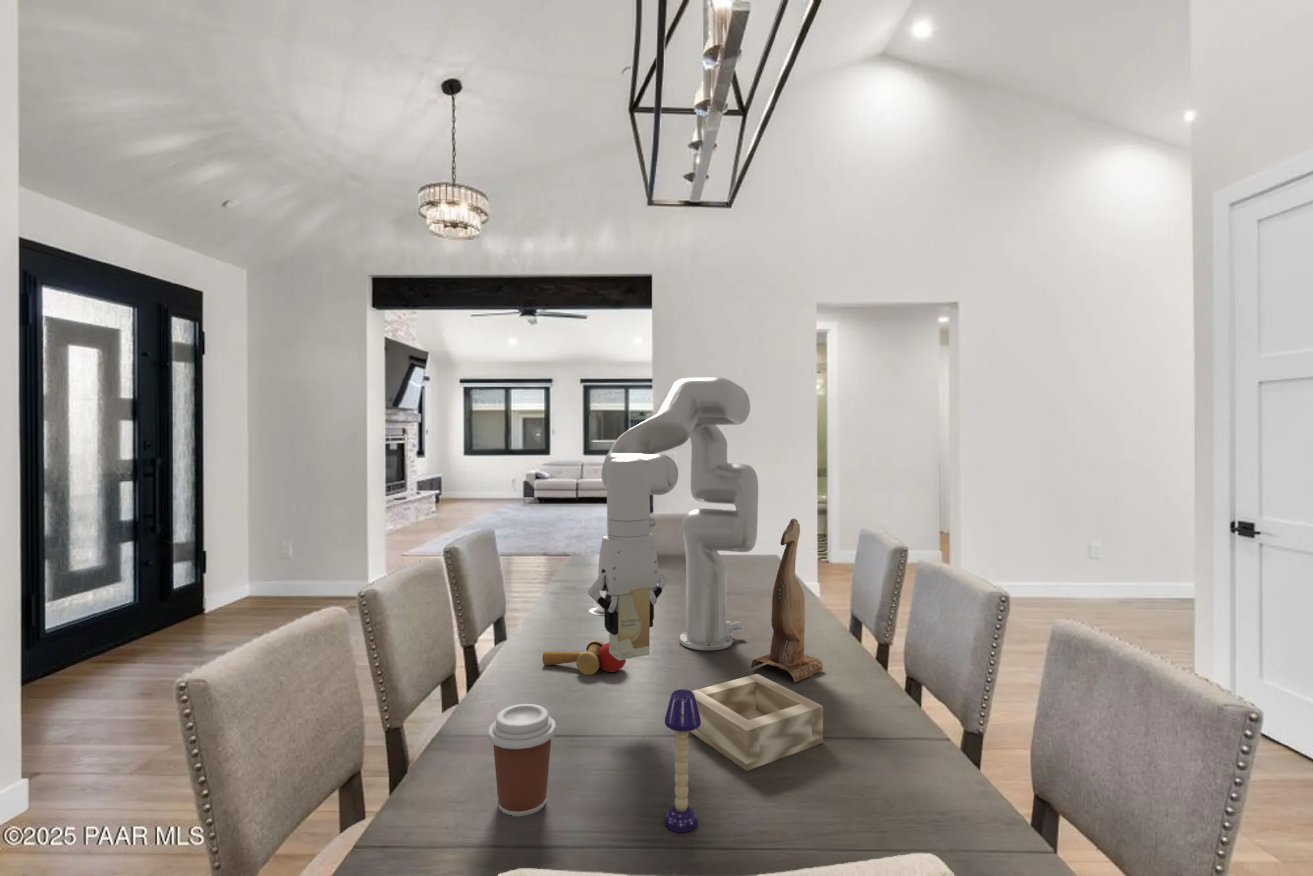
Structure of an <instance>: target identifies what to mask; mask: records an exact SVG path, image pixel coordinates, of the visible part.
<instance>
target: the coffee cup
mask: <svg viewBox="0 0 1313 876" xmlns="http://www.w3.org/2000/svg"><path fill="white" fill-rule="evenodd" d="M487 731H488V732H487V740H488V741H489V742H490V743H491V744H492V745H493V757H494V766H495V778H496V779H495V781H496V790H497V801H498V806H497V807H499V808H498V810H499V811H500V810H501V811H502V812H503V813H502V812H501V811H500V812H501V813H502V814H504V813H506V814H508V815H507V816H509V815H512V816H511V817H517V818H518V817H526V816H530V815H533V814H535V813H538V812H539V811H540V810H542V809H543V808H544V807H545V805H546V803H547V796H548V795H547V792H548V782H549V781H548V779H549V770H550V769H549V768H550V757H551V745H552V739H553V738H554V736H555V734H556V733H557V723H556V720H555V719H553V718H552V717H551V716H550V715H549V710H548V709H546V708H545V707H544V706H541V705H540V704H539V705H538V704H534V703H532V704H531V703H522V704H520V703H518V704H515V705H510V706H508V707H505V708H504V709H501V710H499V713H498V714H496V715H495V720H494V721H493V722H492V723H491V724H490V726H489V727H488V730H487ZM506 814H505V815H506Z"/></svg>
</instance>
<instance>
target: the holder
mask: <svg viewBox="0 0 1313 876" xmlns="http://www.w3.org/2000/svg"><path fill="white" fill-rule="evenodd" d="M691 691H692V692H693V693H694V695H695V698H696V702H697V706H698V711H699V715H700V720H701V724H700V726H699V727H698V728H697V729H695V730H692V731H689V733H691V734H693V735H694V736H696V737H697V738H698V739H699V740H702V741H703V742H705V743H706V744H707V745H708V746H710V747H711V748H713V749H714V750H716V751H717V752H719V753H720V754H722V755H723V756H725V757H726V758H727V759H728V760H730V761H732V763H734V764H736V765H737V766H739V767H740V768H741V769H743V770H745V772H746V771H750V770H753V769H756V768H759V767H761V766H763V765H764V766H765V765H767V764H770V763H772V762H775V761H777V760H780V759H783V758H785V757H789V756H791V755H794V754H797V753H799V752H802V751H805V750H807V749H810V748H813V747H815V746H818V744H819V745H821V744H824V706H823V705H821V704H820V703H818V702H815V701H814V700H811V699H809V698H808V697H806V696H803V695H801V694H799V693H797V692H796V691H793V690H792V689H789V688H787V687H785V686H783V685H781V684H779V683H777V682H775V681H772V680H771V679H769V678H766V677H765V676H762V675H761V674H758V673H755V674H752V675H748V676H744V677H740V678H736V679H732V680H728V681H726V682H722V683H717V684H713V685H710V686H706V687H702V688H699V689H695V690H694V689H693V690H691Z"/></svg>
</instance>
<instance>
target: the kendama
mask: <svg viewBox="0 0 1313 876" xmlns="http://www.w3.org/2000/svg"><path fill="white" fill-rule="evenodd" d="M626 660H627V659H624V660H617V659H616V658H615V657H614V656H612V655H611V654H610V653H609V641H608V642H606V643H604V642H602V641H601V640H598V639H595V640H591V641H590V642H589V643H588V644H587V645H586V651H582V652H578V651H563V650H562V651H559V650H558V651H556V650H553V651H552V650H551V651H550V650H544V651H543V654H542V664H543V665H544V666H551V665H553V666H554V665H560V664H570V663H576V667H577V669H578V671H579V672H581V673H582V674H583V675H593V674H595V673H596V672H598V670H599V668H601V669H602V670H604V671H605V672H607V673H615V672H618V671H620V670H621V669H623V667H624V666H625V664H626V662H627V661H626Z"/></svg>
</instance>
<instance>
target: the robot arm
mask: <svg viewBox="0 0 1313 876" xmlns="http://www.w3.org/2000/svg"><path fill="white" fill-rule="evenodd" d="M750 411H751V401H750V397H749V394H748V393H747V391H746V390H745V389H744V388H743V387H742V386H740V385H738V384H737V383H735V382H733V381H732V380H730V379H727V378H724V377H717V376H716V377H715V376H714V377H686V378H680V379H678V380H676V381H675V382H673V383H672V384H671V385H670V387H669V389H668V390H667V392H666V394H665V395H664V397H663V399H662V400H661V402H660V404H659V405H658V408H657V409H656V411H655V413H654V414H653V416H651V417H650V418H647V419H645V420H644V421H641V422H640V423H639V424H637V425H635V426H633V427H631V428H629V429H628V430H626V431H625V432H623V433H622V434H621V435H619V436H618V438H617V439H615V441H614V443H613V444H612V446H611V447H610V449H609V451H608V452H607V455H605V458H604V461H603V463H602V466H601V475H600V476H601V481H602V484H603V486H604V487H605V488H606V515H607V516H606V518H607V519H606V520H607V521H606V527H607V528H606V530H607V534H606V535H603V536H602V540H601V545H600V549H599V559H598V570H597V578H596V580H595V581H594V583H593V584H592V585H591V586H590V587H589V589H587V594H588V595H589V597H590V598H592V600H593V601H594V600H595V603H596V604H597V605H598V604H599V605H600V606H601V607H602V608H603V609H604V612H603V614H604V615H603V616H604V617H603V618H604V620H603V621H604V623H603V624H604V628H605V630H606V632H607V633H608V634H609V633H611V634H613V635H617V633H618V613H617V612H616V611H615V608H616V605H617V602H618V596H619V595H623V594H627V593H628V592H630V591H631V590H637V589H643V588H648V587H650V628H652V627H654V619H655V604H657V601H658V598H659V596H661V594H662V592H663V589H664V588H665V587H666V585H667V584H668V582H669V578H668V577H667V576H666V575H664V574H663V573H662V572H661V571H660V570H659V568H658V567H659V565H658V557H657V548H656V543H655V539H654V535H653V534H652V533H651V528H652V527H655V526H656V520H655V518H651V499H650V498H651V497H650V496H660V495H661V496H662V495H663V496H664V495H666V494H668V493H670V492H671V491H672V490H673V489H674V488H675V487H676V485H677V482H678V480H679V469H678V468H679V467H678V466H677V463H676V462H675V460H673V458H671V457H670V456H668V455H665V454H660V453H662V452H663V453H664V452H666V451H669V450H672V449H675V448H677V447H680V446H682V445H684V444H685V443H686V442H687V441H688V440H689V438H690V445H691V446H690V447H691V461H690V494H691V496H692V498H693V500H695V501H697V502H700V503H706V504H721V505H732V506H733V505H734V507H735V509H733V510H731V509H722V508H721V509H719V508H696V509H692V510H690V511H689V512H687V513H686V514H685V515H684V518H683V519H682V520H683V521H682V527H681V529H682V537H683V543H684V549H685V560H686V561H685V563H686V564H685V567H686V570H685V571H686V574H685V577H686V578H685V585H686V586H685V590H686V591H685V631H683V632H682V633H681V634H680V635H679V643H680V644H681V646H684V647H686V648H688V649H691V650H696V651H709V652H710V651H720V650H724V649H727V648H730V647H731V646H732V645H733V643H734V640H733V639H734V638H733V636H732V635H731V633H733V631H738V630H742V628H743V623H742V622H741V621H734V622H731V620H727V588H728V587H727V583H728V582H727V578H728V577H727V576H728V575H727V566H726V563H725V561H724V560H723V558H722V556H721V555H720V553H719V552H720V551H722V552H732V553H733V552H734V553H748V552H750V551H752V550H753V549H754V548H755V546H756V543H757V540H758V539H757V538H758V517H759V516H758V514H759V513H758V512H759V511H758V510H759V481H758V476H757V472H756V470H755V469H754V468H753V467H752V466H751V465H749V464H745V463H733V462H732V463H731V462H728V442H727V439H726V437H725V435H724V433H723V432H722V431H721V429H720V428H719V427H718V425H719V426H722V425H723V426H724V425H725V426H726V425H727V426H728V425H729V426H737V425H741V424H742V425H743V424H744V423H745V421H747V419H748V418H749V415H750ZM601 591H602V592H605V594H604V596H603V595H601ZM603 597H604V598H603Z"/></svg>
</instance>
